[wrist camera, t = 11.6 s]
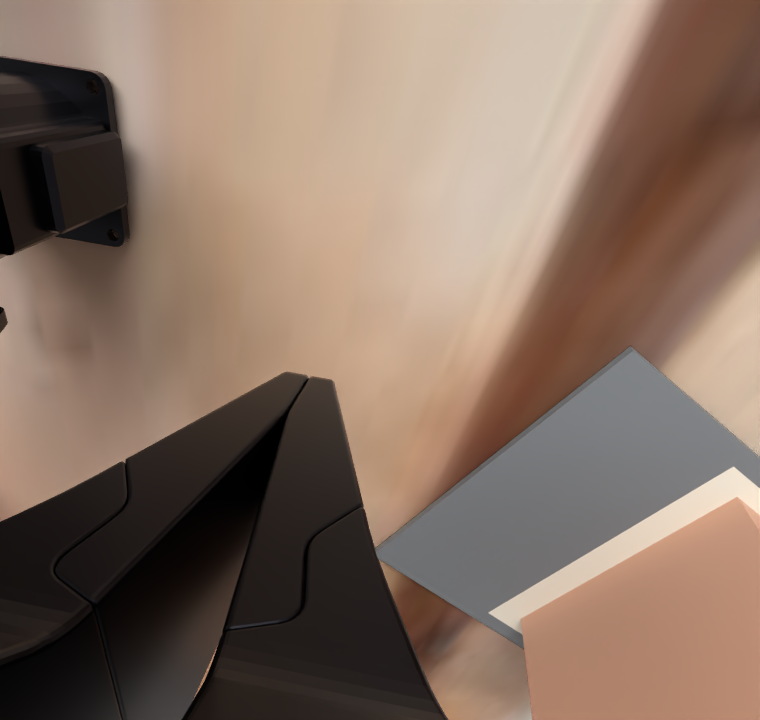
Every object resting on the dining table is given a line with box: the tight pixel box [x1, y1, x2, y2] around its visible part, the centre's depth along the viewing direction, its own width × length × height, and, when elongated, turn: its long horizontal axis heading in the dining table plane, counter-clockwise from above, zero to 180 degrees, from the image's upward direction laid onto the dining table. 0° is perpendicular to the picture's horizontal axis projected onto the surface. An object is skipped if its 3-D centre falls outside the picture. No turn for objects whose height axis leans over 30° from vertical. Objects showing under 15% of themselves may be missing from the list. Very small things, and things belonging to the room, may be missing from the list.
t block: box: [521, 497, 760, 720], centre depth 25 cm, size 13×14×9 cm
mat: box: [375, 346, 760, 649], centre depth 28 cm, size 23×18×1 cm
